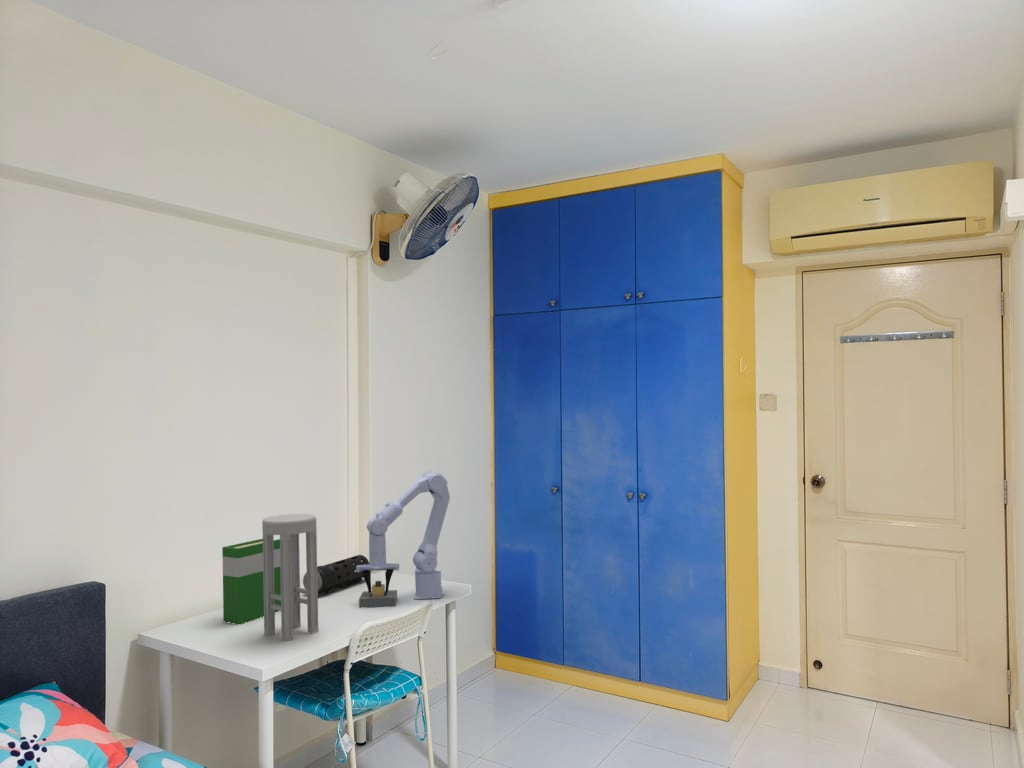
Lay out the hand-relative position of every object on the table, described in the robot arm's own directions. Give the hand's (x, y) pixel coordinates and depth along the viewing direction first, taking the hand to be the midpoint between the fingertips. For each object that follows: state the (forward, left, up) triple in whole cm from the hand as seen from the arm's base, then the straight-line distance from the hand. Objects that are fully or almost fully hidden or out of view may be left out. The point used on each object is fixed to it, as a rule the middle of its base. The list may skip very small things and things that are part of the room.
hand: (378, 591), depth 254 cm
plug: (0, 0, -4) cm, 4 cm away
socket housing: (0, 0, -4) cm, 4 cm away
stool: (+23, +30, -4) cm, 38 cm away
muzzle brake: (+18, -24, -4) cm, 30 cm away
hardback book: (+40, +9, -4) cm, 41 cm away
